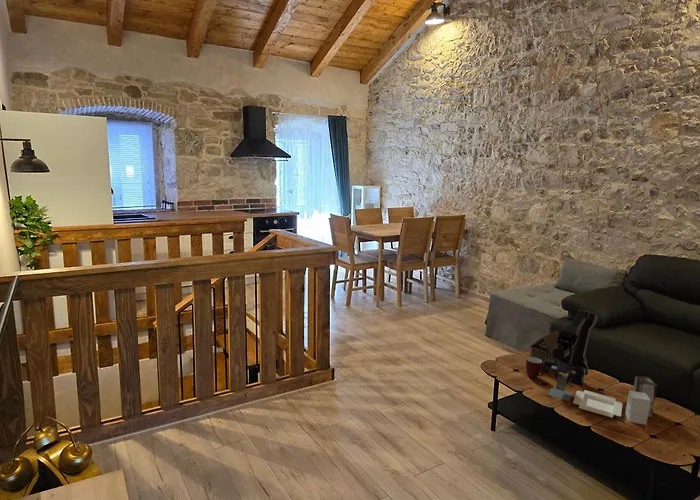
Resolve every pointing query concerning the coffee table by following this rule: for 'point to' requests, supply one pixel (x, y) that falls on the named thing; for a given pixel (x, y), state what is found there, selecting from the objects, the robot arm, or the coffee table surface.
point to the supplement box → (637, 407)
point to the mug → (534, 367)
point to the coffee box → (646, 390)
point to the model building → (545, 349)
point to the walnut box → (561, 381)
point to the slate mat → (560, 394)
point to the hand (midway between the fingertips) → (561, 382)
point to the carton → (598, 403)
